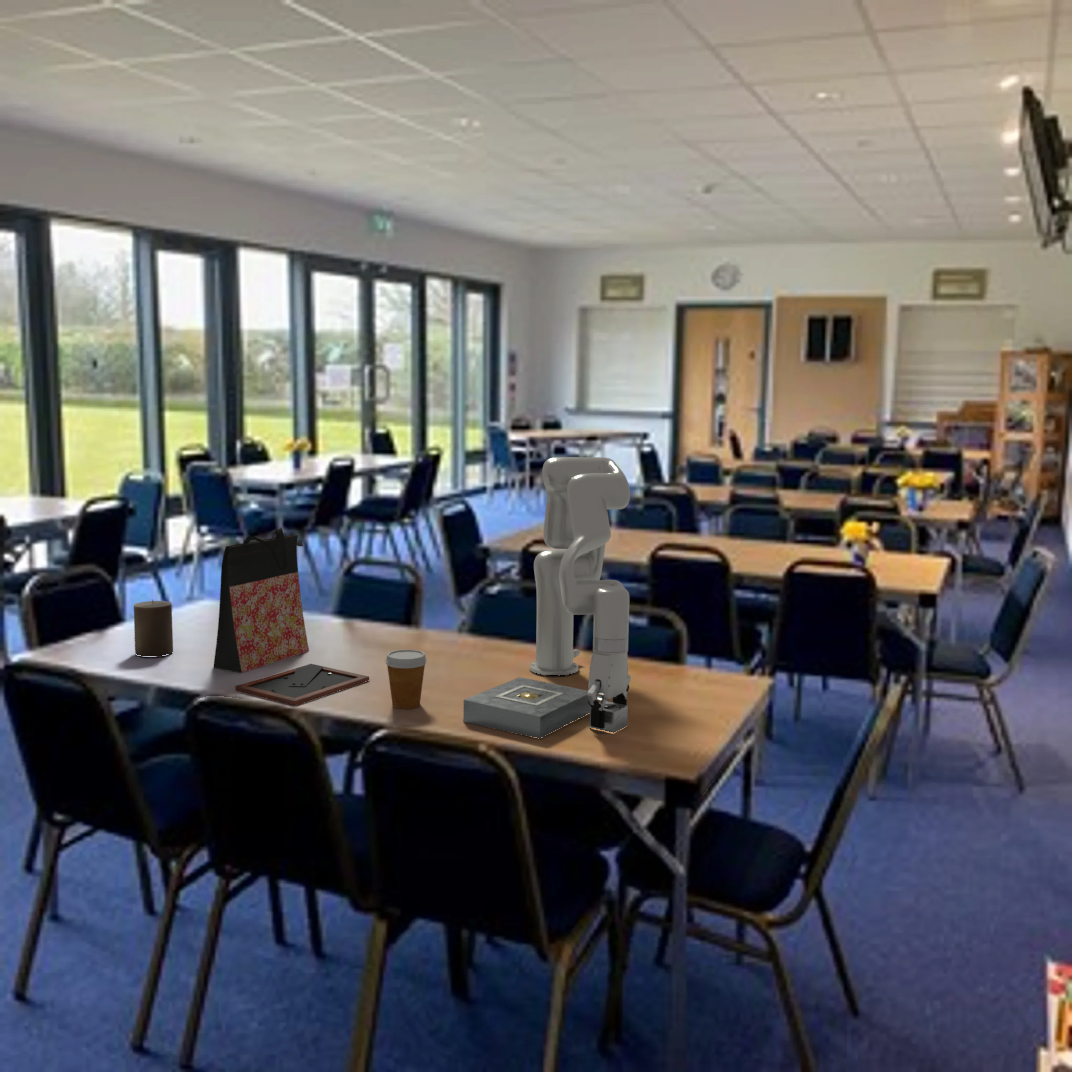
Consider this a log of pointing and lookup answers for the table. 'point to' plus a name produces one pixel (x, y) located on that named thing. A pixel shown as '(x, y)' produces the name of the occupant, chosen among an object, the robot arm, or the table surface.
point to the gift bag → (260, 604)
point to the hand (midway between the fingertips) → (608, 721)
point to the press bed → (526, 707)
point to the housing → (614, 717)
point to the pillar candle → (153, 628)
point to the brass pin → (529, 695)
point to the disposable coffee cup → (406, 677)
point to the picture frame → (301, 684)
